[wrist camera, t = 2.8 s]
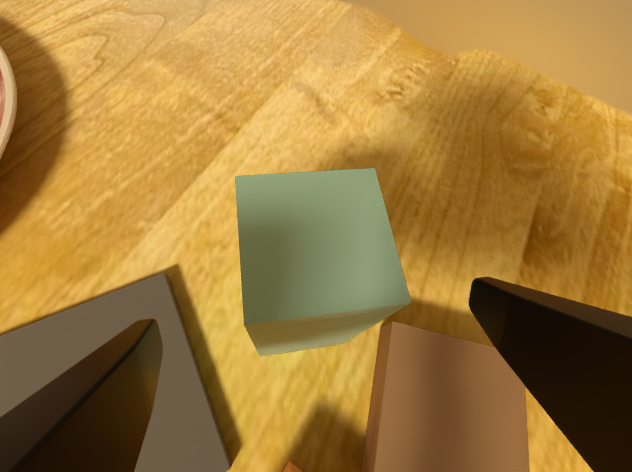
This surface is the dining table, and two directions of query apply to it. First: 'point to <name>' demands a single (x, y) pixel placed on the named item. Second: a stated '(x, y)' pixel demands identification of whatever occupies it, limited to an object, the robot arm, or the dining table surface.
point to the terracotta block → (291, 468)
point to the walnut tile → (443, 406)
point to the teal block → (315, 258)
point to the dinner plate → (6, 100)
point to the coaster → (173, 384)
